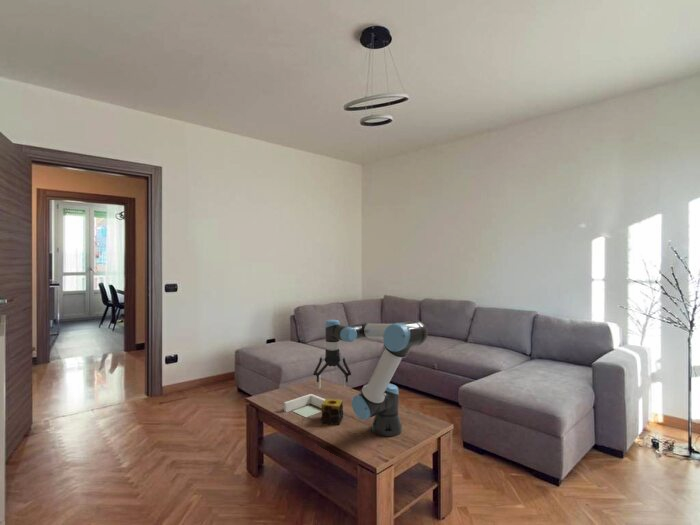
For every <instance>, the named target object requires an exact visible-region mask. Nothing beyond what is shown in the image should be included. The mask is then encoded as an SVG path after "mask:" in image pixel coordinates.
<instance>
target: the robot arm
mask: <svg viewBox="0 0 700 525" xmlns="http://www.w3.org/2000/svg"><path fill="white" fill-rule="evenodd" d="M324 329H325V346H324V347H325V349H324V350H325V357H322V356H320V357H319V362H318V363H317V365H316V368H315V369H314V372H313V374H312V375H313V376H316V383H318V390H320V389H321V387H322V386H321V385H322V383H321V382H322V380H321V378H322V377H321V376H322V375H321V374H322V373H323V372H324V371H325V370H326V368H328V367H338V369H339V370H340V371H341V372H342V373H343V375H344V376H343V377H344V378H343V379H344V380H343V381H344V382H343V389H344V390H346V388H347V387H346V386H347V384H346V383H348V381H349V376H352V372H351V370H350V368H349V366H348V364H347V362H346V357H345V356H343V357H340V341H343V342H345V343H352V342H354V341H355V340H356V339H357V340H358V339H363V338H364V339H369V338H370V339H383V340H382V341H383V347H384V348H383V349H384V351H383V353H382V354H381V356H380V359H379V361H378V363H377V365H376V367H375V369H374V371H373V373H372V375H371V377H370V379H369V381H368V383H367V384H364V385H363V387H362V388H361V391H360V392H359V393H358V394H355V395H354V396H353V397H352V399H351V407H352V410H353V412H354V414H355V415H356V417H357V418H358V419H360V420H368V419H370V418H373V421H372V424H371V426H372V427H371V430H372V432H373V433H374V434H376V435H379V436H382V437H394V436H398V435H400V434H401V433H402V431H403V425H402V423H401V419H400V416H399V405H400V403H399V400H400V398H399V397H400V396H399V395H400V393H399V387H398V386H397V385H395V384H393V383H391V380H392V378H393V376H394V374H395V372H396V370H397V368H398V367H399V364H400V363H401V361H402V359H404V358H407V356H408V355H409V353H410V351H411V349H412V348H415V347H417V346H421V345H423V344H424V343H425V342H426V341H427V338H428V334H429V333H428V329H427V326H426V324H424V323H423V322H422V321H420V320H416V319H415V320H413V319H412V320H409V321H408V320H407V321H404V322H402V321H401V322H396V323H370V322H362V323H358V324H351V325H341V323H340V320H338V319H327V320H326V321H325V327H324ZM340 361H341V362H342V363H343V366H344V367H343V366H342V365H341V364H340ZM324 362H325V363H324ZM322 363H324V365H323V366H322V367H321V364H322ZM320 367H321V368H320ZM319 369H320V370H319Z"/></svg>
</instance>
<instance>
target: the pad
mask: <svg viewBox="0 0 700 525" xmlns="http://www.w3.org/2000/svg"><path fill="white" fill-rule="evenodd" d="M321 411H322V409H319V408H316V407H314V406H311V405H305V406H302V407H300V408H297V409H294V410H292V412H293V413H295V414H297V415H299V416H301V417H303V418H309V417H312V416H314V415H316V414H319V413H322V412H321Z"/></svg>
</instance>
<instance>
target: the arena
mask: <svg viewBox="0 0 700 525" xmlns="http://www.w3.org/2000/svg"><path fill="white" fill-rule="evenodd" d="M325 399H326V398H323V397H321V396H318V395H315V394H313V393H309V394H305V395H303V396H300V397H297V398H293V399H291V400H287V401H284V402H283V412H285V413H288V412H290V411H291V412H292V411H294V410H297V409H300V408H303V407H306V406H309V405H310V404H311V405H313V406H316V407H318V408H320V409H322V404H323V402H324V401H325Z"/></svg>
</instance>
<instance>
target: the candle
mask: <svg viewBox="0 0 700 525" xmlns="http://www.w3.org/2000/svg"><path fill="white" fill-rule="evenodd" d="M324 399H325V401H324V402H323V404H322V408H321V412H320V413H321V417H320V418H321V422H320V423H321V424H324V425H338V426H339V425H340V424H341V423H342V420H343V418H344V400H343V399H338V398H324Z"/></svg>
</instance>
